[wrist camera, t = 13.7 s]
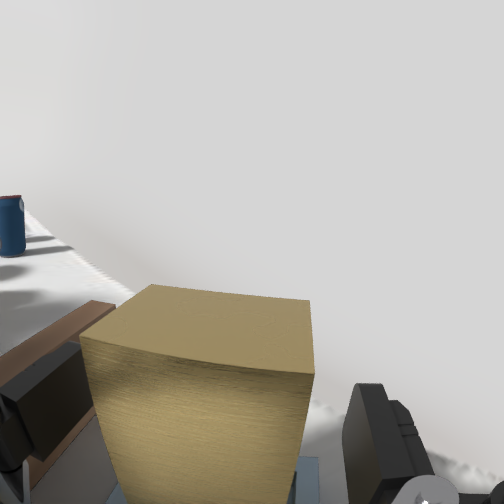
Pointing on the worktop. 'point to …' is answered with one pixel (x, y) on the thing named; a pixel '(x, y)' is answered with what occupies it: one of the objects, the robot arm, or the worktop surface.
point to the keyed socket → (301, 492)
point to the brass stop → (202, 394)
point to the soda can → (12, 226)
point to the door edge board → (42, 345)
